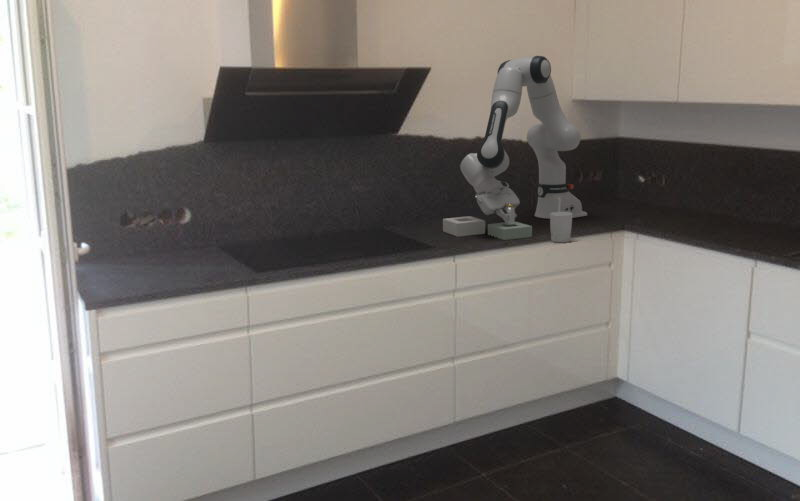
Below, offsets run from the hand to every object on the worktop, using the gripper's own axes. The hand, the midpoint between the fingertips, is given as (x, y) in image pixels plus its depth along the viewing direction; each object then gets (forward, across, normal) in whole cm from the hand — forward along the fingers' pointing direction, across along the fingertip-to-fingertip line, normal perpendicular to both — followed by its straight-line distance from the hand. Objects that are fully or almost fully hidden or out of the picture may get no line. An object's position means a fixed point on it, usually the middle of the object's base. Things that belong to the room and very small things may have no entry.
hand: (511, 218), depth 278 cm
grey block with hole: (-8, -5, +18) cm, 20 cm away
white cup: (+19, +3, -9) cm, 21 cm away
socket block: (+4, 0, +5) cm, 7 cm away
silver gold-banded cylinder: (+4, 0, +5) cm, 7 cm away
